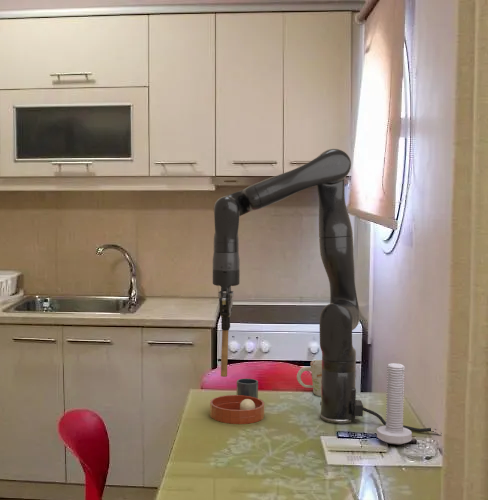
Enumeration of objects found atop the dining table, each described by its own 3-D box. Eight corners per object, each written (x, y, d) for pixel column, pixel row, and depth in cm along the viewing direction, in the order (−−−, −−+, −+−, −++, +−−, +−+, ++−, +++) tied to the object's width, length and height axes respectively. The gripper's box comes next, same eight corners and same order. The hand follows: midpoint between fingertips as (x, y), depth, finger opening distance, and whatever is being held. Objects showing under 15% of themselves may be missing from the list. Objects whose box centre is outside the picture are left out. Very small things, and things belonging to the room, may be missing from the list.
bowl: (265, 410, 202) (265, 396, 201) (262, 427, 187) (263, 412, 186) (213, 407, 204) (213, 393, 204) (207, 424, 189) (207, 409, 189)
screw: (400, 435, 181) (402, 360, 179) (418, 447, 172) (420, 368, 171) (370, 438, 179) (372, 361, 177) (387, 449, 170) (389, 369, 169)
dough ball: (245, 401, 200) (249, 393, 197) (255, 413, 198) (260, 404, 195) (234, 409, 197) (239, 400, 194) (245, 420, 195) (249, 411, 192)
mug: (336, 398, 214) (337, 366, 214) (295, 396, 217) (296, 364, 216) (336, 391, 222) (337, 360, 222) (297, 389, 225) (297, 358, 224)
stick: (226, 375, 196) (228, 312, 195) (227, 376, 194) (229, 313, 193) (220, 375, 196) (222, 312, 195) (221, 376, 194) (223, 313, 193)
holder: (258, 401, 211) (258, 378, 210) (257, 407, 204) (257, 384, 204) (237, 400, 212) (237, 378, 211) (235, 406, 205) (235, 383, 205)
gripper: (215, 265, 200) (215, 324, 202) (209, 270, 187) (209, 333, 188) (241, 265, 199) (240, 325, 200) (237, 270, 186) (237, 334, 187)
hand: (225, 329), depth 194 cm, fingers closed on stick, 2 cm apart
